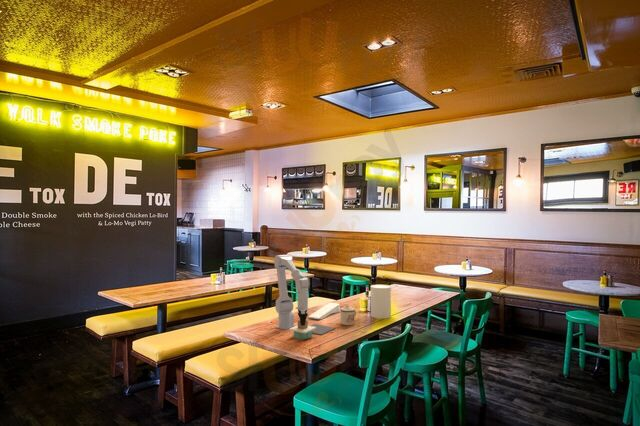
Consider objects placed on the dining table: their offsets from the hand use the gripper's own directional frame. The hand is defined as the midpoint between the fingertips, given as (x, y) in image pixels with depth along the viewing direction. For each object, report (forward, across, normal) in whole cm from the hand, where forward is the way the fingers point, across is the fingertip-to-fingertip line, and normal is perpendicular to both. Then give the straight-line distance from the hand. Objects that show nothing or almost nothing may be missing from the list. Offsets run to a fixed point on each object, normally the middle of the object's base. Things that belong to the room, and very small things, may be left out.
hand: (302, 323), depth 217 cm
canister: (+7, -41, +54) cm, 68 cm away
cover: (+3, 0, 0) cm, 3 cm away
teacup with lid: (+7, -25, +30) cm, 40 cm away
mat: (+7, -12, +9) cm, 17 cm away
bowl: (+7, 0, 0) cm, 7 cm away
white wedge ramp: (+8, -46, +16) cm, 49 cm away
